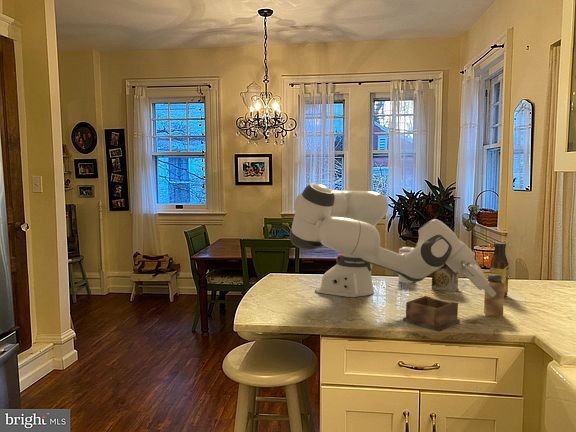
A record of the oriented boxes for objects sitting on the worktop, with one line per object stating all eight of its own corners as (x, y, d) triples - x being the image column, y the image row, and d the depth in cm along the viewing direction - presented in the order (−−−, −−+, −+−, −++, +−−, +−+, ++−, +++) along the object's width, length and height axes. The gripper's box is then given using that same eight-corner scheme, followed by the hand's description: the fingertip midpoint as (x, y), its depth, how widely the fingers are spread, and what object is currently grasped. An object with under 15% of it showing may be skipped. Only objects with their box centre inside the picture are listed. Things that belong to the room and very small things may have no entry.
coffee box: (458, 288, 177) (459, 248, 176) (454, 292, 172) (456, 250, 171) (435, 285, 182) (436, 246, 181) (430, 288, 177) (432, 248, 175)
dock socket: (403, 321, 136) (403, 302, 136) (424, 313, 144) (424, 295, 144) (439, 331, 127) (440, 310, 127) (459, 322, 136) (460, 303, 135)
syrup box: (411, 283, 185) (412, 249, 184) (397, 281, 188) (398, 248, 187) (415, 281, 190) (416, 247, 189) (402, 279, 193) (402, 246, 192)
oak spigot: (485, 316, 142) (487, 276, 141) (484, 311, 147) (485, 273, 145) (502, 317, 140) (504, 277, 139) (500, 313, 145) (502, 274, 144)
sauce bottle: (509, 297, 164) (512, 244, 162) (491, 297, 165) (493, 244, 163) (504, 293, 170) (507, 242, 168) (487, 292, 171) (489, 241, 170)
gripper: (471, 258, 134) (505, 293, 132) (466, 248, 153) (496, 278, 151) (454, 271, 136) (488, 306, 134) (452, 260, 155) (481, 290, 153)
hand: (492, 291), depth 143 cm, fingers open, 8 cm apart
